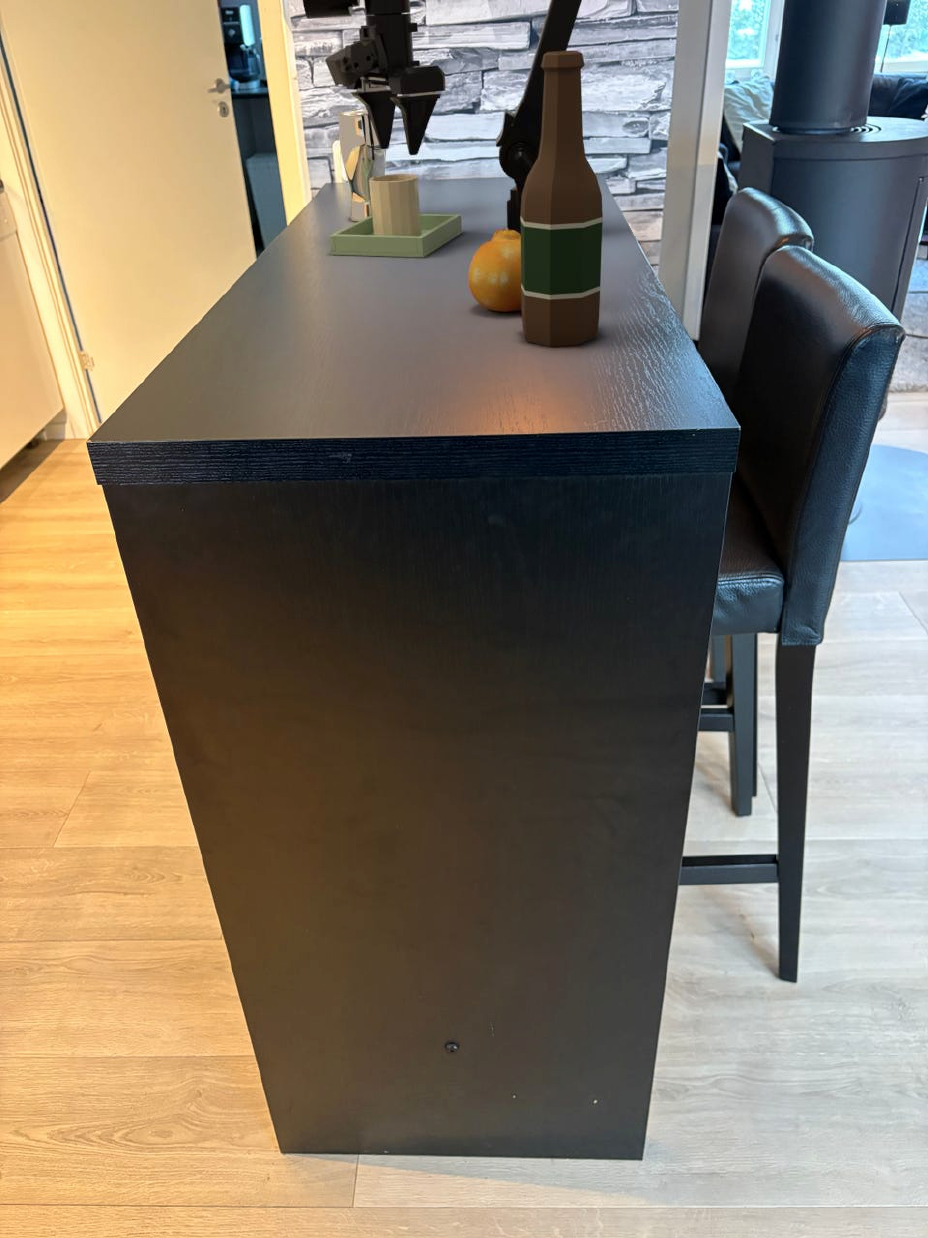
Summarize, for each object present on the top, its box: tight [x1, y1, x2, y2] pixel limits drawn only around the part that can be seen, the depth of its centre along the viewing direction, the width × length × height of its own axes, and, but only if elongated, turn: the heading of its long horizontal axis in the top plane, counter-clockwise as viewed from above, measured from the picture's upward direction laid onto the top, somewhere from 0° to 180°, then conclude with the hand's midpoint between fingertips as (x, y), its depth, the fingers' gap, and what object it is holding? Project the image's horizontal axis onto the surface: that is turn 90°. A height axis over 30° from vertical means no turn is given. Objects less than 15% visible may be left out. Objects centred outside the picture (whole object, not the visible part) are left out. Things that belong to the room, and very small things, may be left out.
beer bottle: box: [521, 50, 604, 348], centre depth 85 cm, size 8×8×24 cm
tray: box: [328, 213, 463, 259], centre depth 131 cm, size 14×16×2 cm
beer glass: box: [337, 108, 387, 223], centre depth 144 cm, size 7×7×15 cm
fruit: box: [468, 227, 522, 313], centre depth 99 cm, size 8×8×8 cm
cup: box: [369, 173, 421, 237], centre depth 129 cm, size 7×7×8 cm
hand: (398, 151), depth 126 cm, fingers open, 9 cm apart
